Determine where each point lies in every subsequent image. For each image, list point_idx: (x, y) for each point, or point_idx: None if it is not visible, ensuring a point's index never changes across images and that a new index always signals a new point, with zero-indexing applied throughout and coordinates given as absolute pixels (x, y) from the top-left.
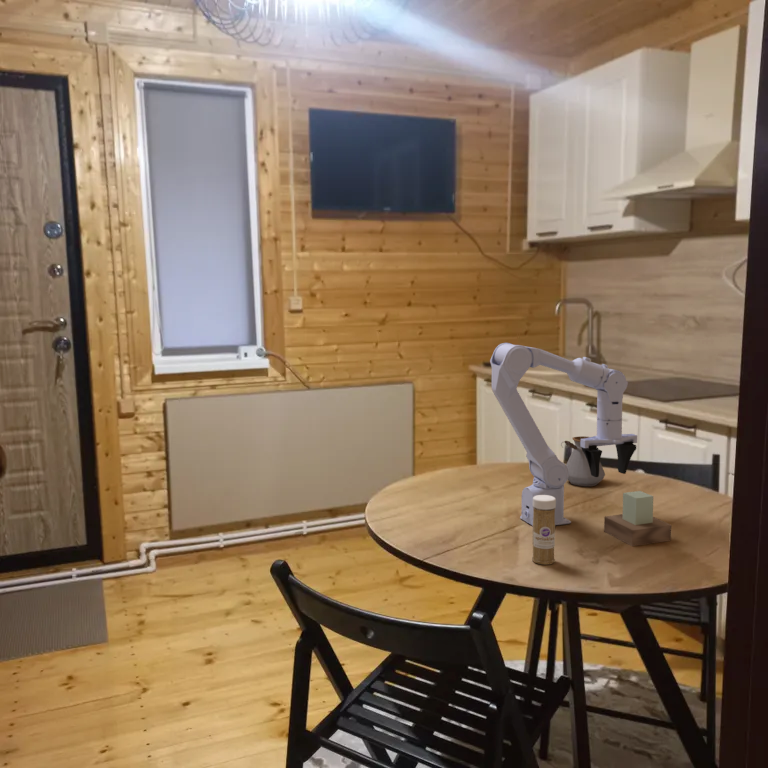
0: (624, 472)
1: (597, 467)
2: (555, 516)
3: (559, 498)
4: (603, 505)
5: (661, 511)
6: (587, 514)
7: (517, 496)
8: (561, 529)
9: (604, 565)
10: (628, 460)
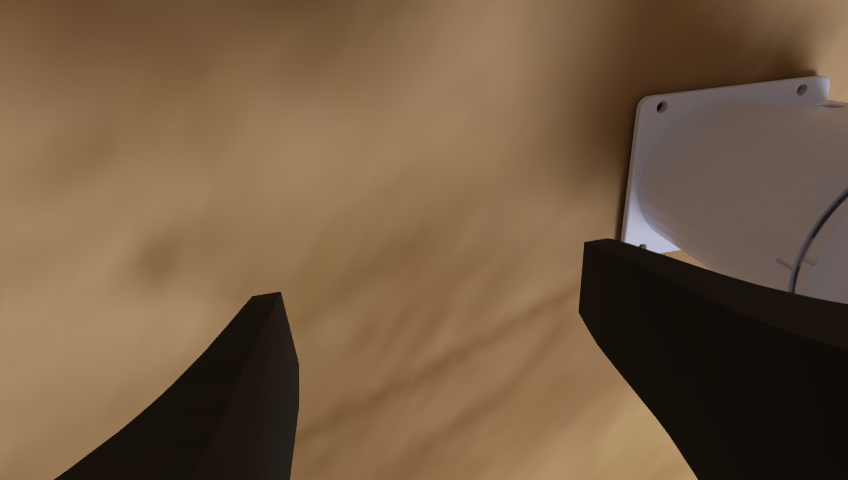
0: (268, 298)
1: (685, 269)
2: (754, 104)
3: (828, 130)
4: (320, 334)
5: (5, 186)
6: (472, 222)
7: (603, 468)
8: (730, 29)
9: None
10: (190, 387)
